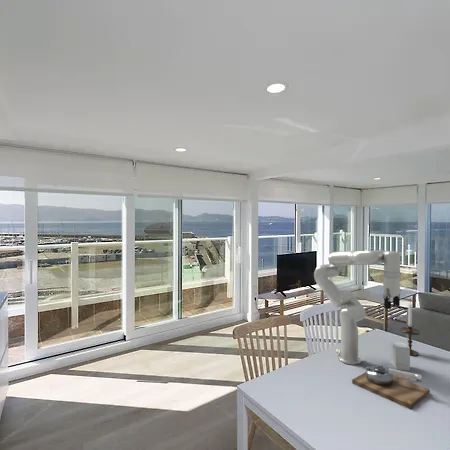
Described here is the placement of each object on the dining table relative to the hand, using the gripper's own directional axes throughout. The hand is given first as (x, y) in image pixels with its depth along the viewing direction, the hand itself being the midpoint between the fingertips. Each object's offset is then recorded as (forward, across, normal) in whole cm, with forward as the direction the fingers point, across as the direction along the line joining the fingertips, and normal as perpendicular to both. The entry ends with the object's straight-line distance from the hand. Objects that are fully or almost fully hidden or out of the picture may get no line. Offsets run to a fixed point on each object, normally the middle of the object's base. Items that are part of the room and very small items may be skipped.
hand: (392, 307), depth 161 cm
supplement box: (+37, -15, -2) cm, 40 cm away
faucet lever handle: (+35, +11, +5) cm, 37 cm away
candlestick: (+37, -40, -7) cm, 55 cm away
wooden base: (+37, +13, +5) cm, 39 cm away
